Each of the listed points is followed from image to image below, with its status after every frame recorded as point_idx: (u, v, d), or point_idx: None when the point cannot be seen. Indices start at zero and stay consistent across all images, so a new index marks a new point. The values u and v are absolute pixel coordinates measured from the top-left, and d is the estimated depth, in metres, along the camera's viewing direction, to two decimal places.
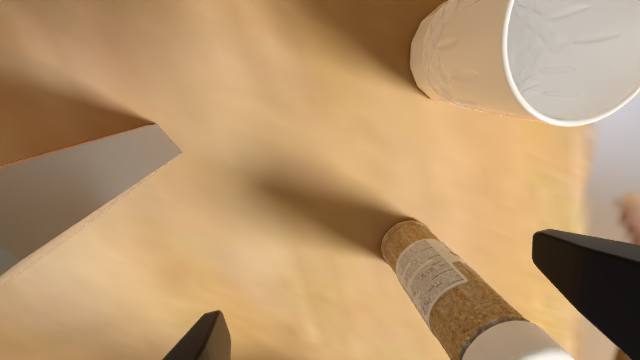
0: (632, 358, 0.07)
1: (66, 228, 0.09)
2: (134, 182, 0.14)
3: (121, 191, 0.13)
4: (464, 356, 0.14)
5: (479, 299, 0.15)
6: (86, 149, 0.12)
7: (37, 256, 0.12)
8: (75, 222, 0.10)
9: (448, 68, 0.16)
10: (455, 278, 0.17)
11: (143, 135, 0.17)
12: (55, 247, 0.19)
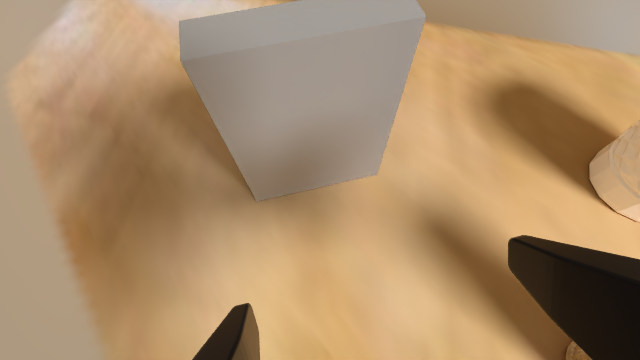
0: None
1: (414, 52, 0.14)
2: (394, 117, 0.18)
3: (398, 103, 0.17)
4: None
5: None
6: None
7: (325, 114, 0.17)
8: (412, 60, 0.15)
9: None
10: None
11: None
12: (256, 189, 0.22)
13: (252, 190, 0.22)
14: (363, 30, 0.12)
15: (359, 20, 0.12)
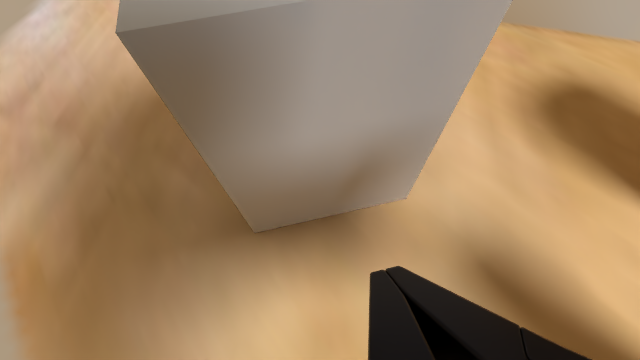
0: None
1: (495, 29, 0.09)
2: (443, 127, 0.13)
3: (453, 108, 0.12)
4: None
5: None
6: None
7: (351, 124, 0.12)
8: (488, 42, 0.10)
9: None
10: None
11: None
12: (253, 220, 0.17)
13: (248, 221, 0.17)
14: None
15: None
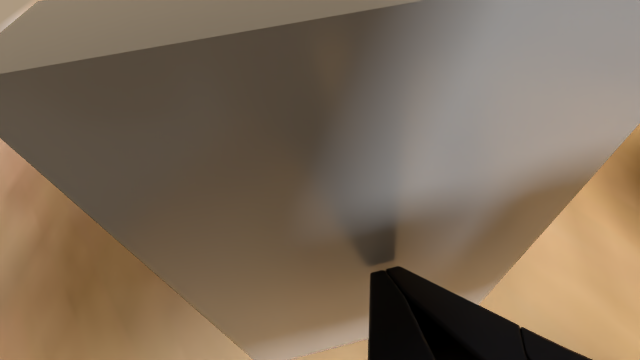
0: None
1: None
2: None
3: (571, 196, 0.08)
4: None
5: None
6: None
7: (416, 227, 0.07)
8: None
9: None
10: None
11: None
12: (260, 354, 0.12)
13: (253, 356, 0.12)
14: None
15: None
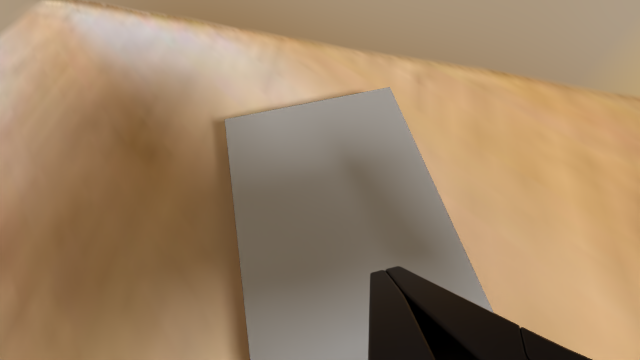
0: None
1: (400, 110, 0.18)
2: (432, 181, 0.15)
3: (423, 161, 0.16)
4: None
5: None
6: None
7: (342, 171, 0.16)
8: (402, 116, 0.17)
9: None
10: None
11: None
12: (258, 346, 0.12)
13: (252, 349, 0.12)
14: (347, 96, 0.18)
15: None
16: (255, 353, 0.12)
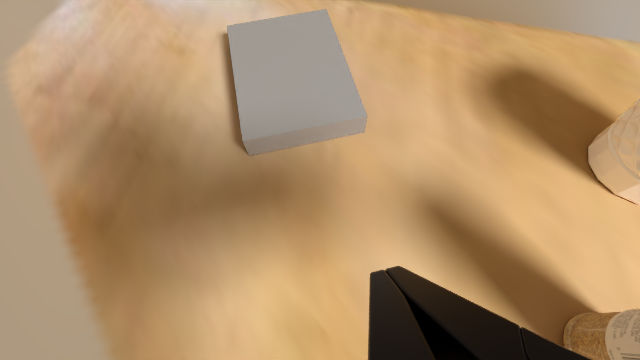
0: None
1: (330, 20, 0.30)
2: (343, 54, 0.28)
3: (339, 44, 0.28)
4: None
5: None
6: None
7: (293, 49, 0.28)
8: (331, 23, 0.30)
9: None
10: None
11: None
12: (244, 119, 0.24)
13: (241, 120, 0.24)
14: (300, 14, 0.30)
15: None
16: (242, 121, 0.24)
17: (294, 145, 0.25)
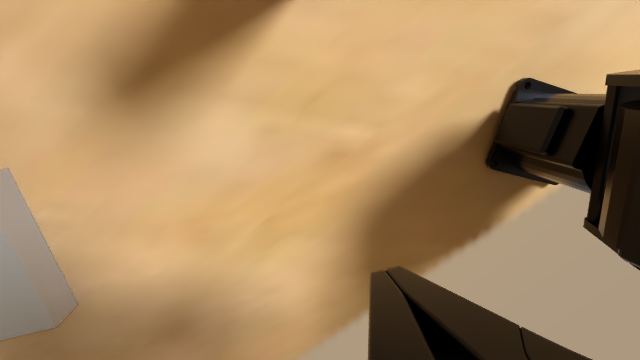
0: None
1: None
2: None
3: None
4: None
5: None
6: None
7: None
8: None
9: None
10: None
11: None
12: (18, 330, 0.19)
13: (21, 333, 0.19)
14: None
15: None
16: (23, 331, 0.19)
17: (51, 257, 0.20)
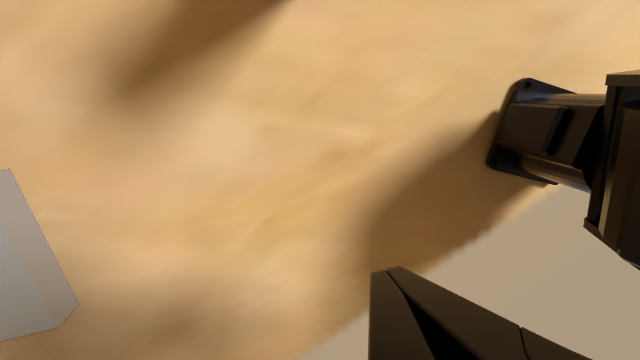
0: None
1: None
2: None
3: None
4: None
5: None
6: None
7: None
8: None
9: None
10: None
11: None
12: (19, 330, 0.19)
13: (22, 334, 0.19)
14: None
15: None
16: (24, 332, 0.19)
17: (52, 258, 0.20)
